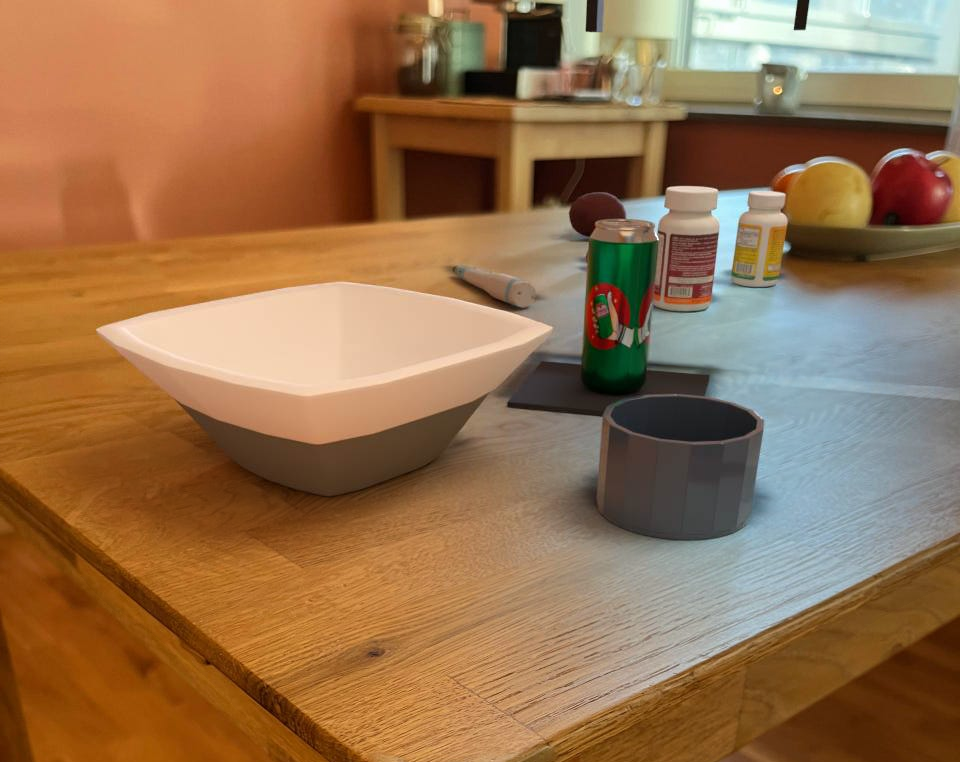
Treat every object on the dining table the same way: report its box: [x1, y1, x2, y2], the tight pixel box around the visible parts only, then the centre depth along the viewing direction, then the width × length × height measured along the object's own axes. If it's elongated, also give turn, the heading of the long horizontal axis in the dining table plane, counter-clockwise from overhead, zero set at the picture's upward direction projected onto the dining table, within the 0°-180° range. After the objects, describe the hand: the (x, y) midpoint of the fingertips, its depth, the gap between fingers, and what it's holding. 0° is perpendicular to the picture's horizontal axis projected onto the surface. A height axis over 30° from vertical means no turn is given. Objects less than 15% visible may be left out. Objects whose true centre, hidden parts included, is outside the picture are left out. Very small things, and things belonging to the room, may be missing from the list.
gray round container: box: [596, 394, 765, 541], centre depth 58 cm, size 9×9×6 cm
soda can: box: [580, 218, 659, 395], centre depth 76 cm, size 5×5×12 cm
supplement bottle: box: [730, 190, 788, 288], centre depth 115 cm, size 5×5×10 cm
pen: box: [452, 265, 537, 308], centre depth 111 cm, size 19×3×3 cm, turn 24°
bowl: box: [95, 281, 554, 497], centre depth 64 cm, size 22×23×8 cm
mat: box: [506, 360, 710, 417], centre depth 79 cm, size 14×12×1 cm
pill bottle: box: [653, 185, 721, 312], centre depth 104 cm, size 6×6×11 cm
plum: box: [568, 191, 627, 238], centre depth 143 cm, size 7×8×6 cm
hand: (694, 31), depth 68 cm, fingers open, 13 cm apart
